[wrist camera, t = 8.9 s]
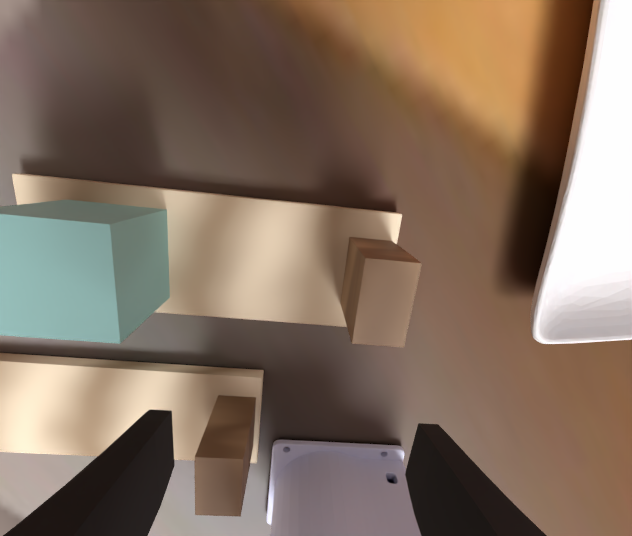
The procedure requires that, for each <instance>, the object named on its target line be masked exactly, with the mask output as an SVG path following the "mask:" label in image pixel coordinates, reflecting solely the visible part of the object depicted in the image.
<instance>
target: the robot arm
mask: <svg viewBox="0 0 632 536" xmlns="http://www.w3.org/2000/svg"><path fill="white" fill-rule="evenodd" d="M285 447H289V448H285ZM403 459H404V450H403V448H402V447H401V446H398V445H378V444H358V443H339V442H319V441H299V440H276V441H275V442H274V443H273V447H272V459H271V471H270V483H269V495H268V507H267V519H266V520H267V523H268V524H270V525H271V533H270V536H546V535H545V534H544V533H543V532H542V531H541V530H540V529H539V528H538V527H537V526H536V525H535V524H534V523H533V522H532V521H531V520H530V519H529V518H528V517H526V516H525V515H524V514H523V513H522V512H521V511H520V510H519V509H518V508H517V507H516V506H515V505H514V504H513V503H512V502H511V501H510V500H509V499H508V498H507V497H506V496H505V495H504V494H503V492H502V491H501V490H500V489H499V488H498V487H497V486H496V485H495V484H494V483H493V482H492V481H491V480H490V479H489V478H488V477H487V476H486V475H485V474H484V473H483V472H482V471H481V470H480V469H479V467H478V466H477V465H476V464H475V463H474V462H473V461H472V460H471V459H470V458H469V457H468V456H467V455H466V454H465V452H464V451H463V450H462V449H461V448H460V447H459V446H458V445H457V444H456V443H455V442H454V441H453V440H452V439H451V437H450V436H449V435H448V434H447V433H446V432H445V431H444V430H443V429H442V428H441V427H440V426H439V425H438V424H419V423H418V427H417V431H416V435H415V439H414V442H413V446H412V450H411V454H410V457H409V461H408V465H407V469H405V466H404V464H403ZM173 468H174V447H173V426H172V411H170V410H148V411H147V412H146V413H145V414H144V415H143V416H141V417H140V418H139V419H138V420H137V421H136V422H135V423H134V424H133V425H132V426H131V427H129V428H128V429H127V430H126V431H125V432H124V433H123V434H122V435H121V436H120V437H119V438H118V439H116V440H115V441H114V442H113V443H112V444H111V445H110V446H109V447H108V448H107V449H106V450H104V451H103V452H102V453H101V454H100V455H99V456H98V457H97V458H95V459H94V460H93V461H92V462H91V463H90V464H89V465H88V466H86V467H85V468H84V469H83V470H82V471H81V472H80V473H78V474H77V475H76V476H75V477H74V478H73V479H72V480H70V481H69V482H68V483H67V484H66V485H65V486H63V487H62V488H61V489H60V490H59V491H57V492H56V493H55V494H54V495H53V496H51V497H50V498H49V499H48V500H47V501H45V502H44V503H43V504H42V505H41V506H39V507H38V508H37V509H36V510H34V511H33V512H32V513H31V514H30V515H28V516H27V517H26V518H25V519H24V520H22V521H21V522H20V523H19V524H17V525H16V526H15V527H14V528H12V529H11V530H10V531H9V532H7V533H6V534H5V535H3V536H147V535H148V533H149V531H150V528H151V526H152V524H153V522H154V520H155V517H156V515H157V513H158V510H159V508H160V506H161V503H162V500H163V497H164V494H165V491H166V489H167V486H168V483H169V480H170V477H171V474H172V471H173Z"/></svg>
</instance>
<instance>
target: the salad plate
mask: <svg viewBox="0 0 632 536" xmlns="http://www.w3.org/2000/svg"><path fill="white" fill-rule="evenodd" d="M531 332H532V335H533V338H534V339H535V340H536V341H538V342H540V343H543V344H564V343H585V342H599V341H615V340H632V0H594V2H593V9H592V15H591V21H590V27H589V33H588V39H587V46H586V52H585V58H584V64H583V70H582V75H581V81H580V86H579V91H578V97H577V102H576V107H575V113H574V118H573V123H572V129H571V134H570V139H569V145H568V149H567V154H566V159H565V164H564V169H563V174H562V179H561V184H560V188H559V193H558V197H557V202H556V206H555V211H554V215H553V219H552V223H551V227H550V232H549V236H548V240H547V244H546V248H545V252H544V256H543V260H542V263H541V267H540V271H539V275H538V278H537V282H536V286H535V291H534V295H533V300H532V307H531Z"/></svg>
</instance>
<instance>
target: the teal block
mask: <svg viewBox="0 0 632 536" xmlns="http://www.w3.org/2000/svg"><path fill="white" fill-rule="evenodd" d="M169 298H170V286H169V256H168V226H167V209H157V208H147V207H137V206H127V205H117V204H107V203H97V202H87V201H77V200H58V201H48V202H39V203H30V204H21V205H12V206H3V207H0V335H4V336H19V337H33V338H48V339H62V340H76V341H91V342H105V343H121V342H122V341H124V340H125V339H126V338H127V337H128V336H129V335H130V334H131V333H132V332H133V331H134V330H135V329H136V328H138V327H139V326H140V325H141V324H142V323H143V322H144V321H145V320H146V319H147V318H148V317H149V316H150V315H152V314H153V313H154V312H155V311H156V310H157V309H158V308H159V307H160V306H161V305H162V304H163V303H164V302H166V301H167V300H168V299H169Z"/></svg>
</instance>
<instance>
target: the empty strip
mask: <svg viewBox="0 0 632 536" xmlns="http://www.w3.org/2000/svg"><path fill="white" fill-rule="evenodd" d="M263 373H264V370H253V369H238V368H223V367H208V366H192V365H177V364H162V363H147V362H132V361H116V360H101V359H86V358H71V357H56V356H40V355H25V354H10V353H0V452H16V453H38V454H60V455H83V456H99V455H100V454H101V453H102V452H103V451H104V450H106V449H107V448H108V447H109V446H110V445H111V444H112V443H113V442H114V441H115V440H116V439H118V438H119V437H120V436H121V435H122V434H123V433H124V432H125V431H126V430H127V429H128V428H129V427H131V426H132V425H133V424H134V423H135V422H136V421H137V420H138V419H139V418H140V417H141V416H143V415H144V414H145V413H146V412H147V411H148V410H170V411H172V426H173V447H174V460H195V515H213V516H241V510H242V505H243V499H244V494H245V488H246V483H247V478H248V472H249V467H250V463H257V457H258V448H259V433H260V418H261V403H262V388H263Z"/></svg>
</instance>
